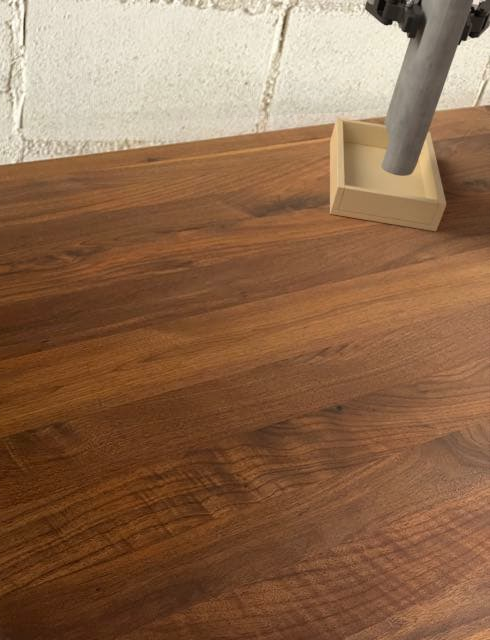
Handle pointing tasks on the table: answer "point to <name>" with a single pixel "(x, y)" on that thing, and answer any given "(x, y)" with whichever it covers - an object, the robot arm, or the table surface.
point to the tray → (381, 179)
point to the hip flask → (422, 81)
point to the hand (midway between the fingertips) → (437, 30)
